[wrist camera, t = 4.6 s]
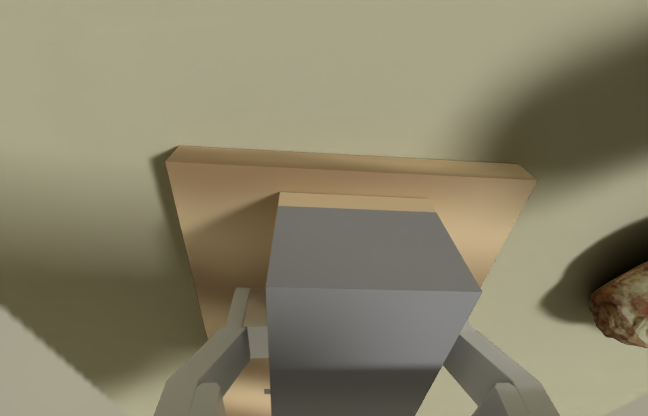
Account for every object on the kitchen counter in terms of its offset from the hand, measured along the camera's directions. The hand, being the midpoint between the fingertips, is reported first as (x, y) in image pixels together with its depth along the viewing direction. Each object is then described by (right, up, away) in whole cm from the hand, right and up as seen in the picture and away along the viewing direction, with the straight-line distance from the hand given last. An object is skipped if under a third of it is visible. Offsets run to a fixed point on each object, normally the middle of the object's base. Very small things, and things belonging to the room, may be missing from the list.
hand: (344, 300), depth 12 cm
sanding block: (0, +1, +1) cm, 1 cm away
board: (-1, -5, +6) cm, 8 cm away
